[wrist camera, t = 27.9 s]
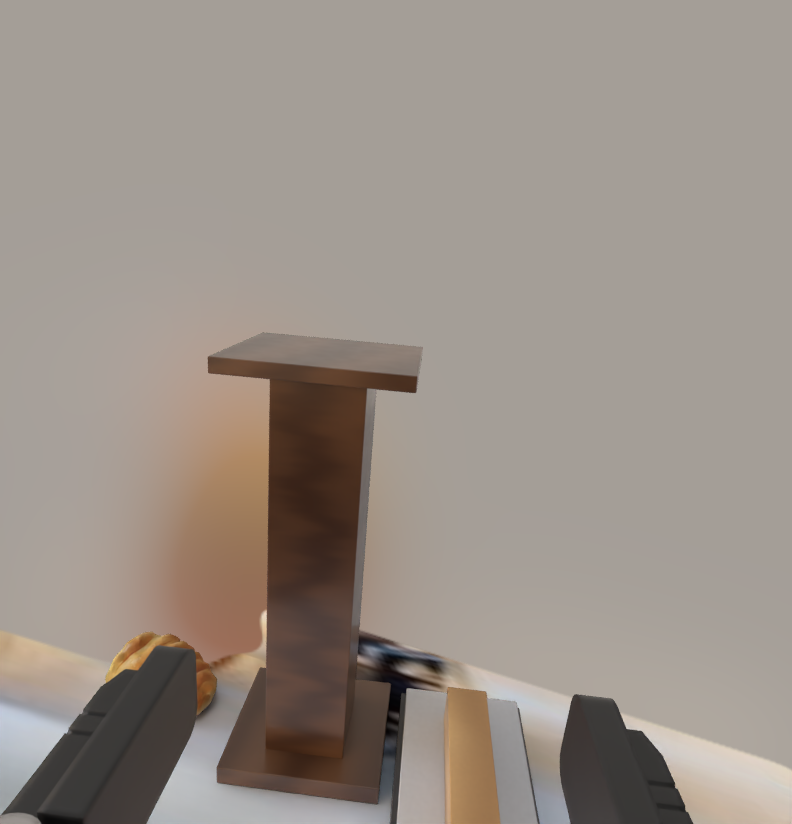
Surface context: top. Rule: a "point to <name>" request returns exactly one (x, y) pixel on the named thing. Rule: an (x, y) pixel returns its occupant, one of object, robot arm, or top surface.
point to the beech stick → (469, 760)
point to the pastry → (142, 647)
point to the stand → (315, 567)
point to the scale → (424, 761)
